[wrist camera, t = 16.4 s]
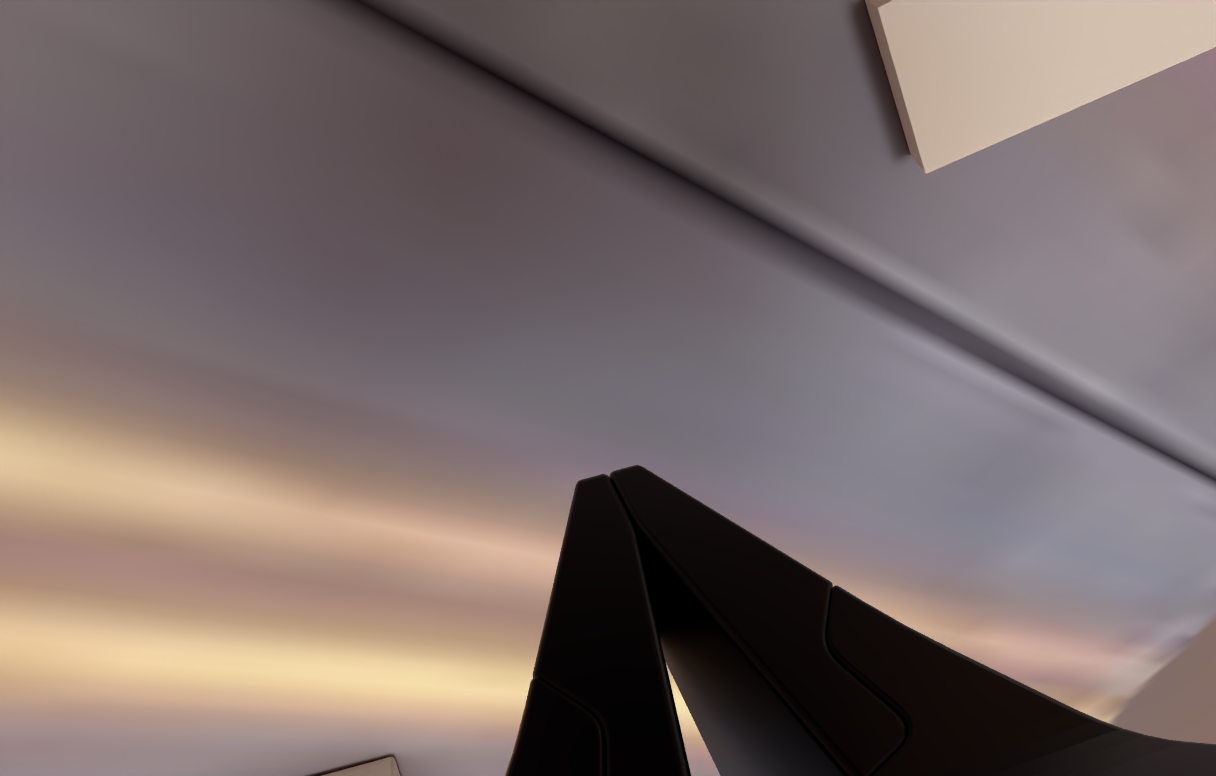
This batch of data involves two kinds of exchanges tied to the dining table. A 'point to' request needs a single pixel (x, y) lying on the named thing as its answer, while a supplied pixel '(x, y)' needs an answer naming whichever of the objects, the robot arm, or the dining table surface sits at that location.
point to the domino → (1021, 61)
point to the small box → (371, 769)
